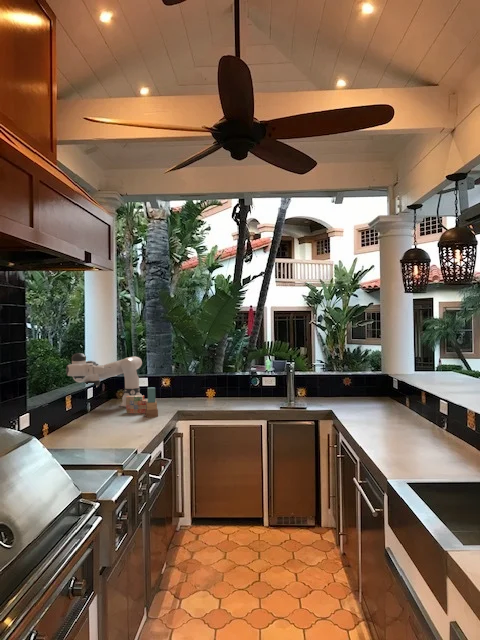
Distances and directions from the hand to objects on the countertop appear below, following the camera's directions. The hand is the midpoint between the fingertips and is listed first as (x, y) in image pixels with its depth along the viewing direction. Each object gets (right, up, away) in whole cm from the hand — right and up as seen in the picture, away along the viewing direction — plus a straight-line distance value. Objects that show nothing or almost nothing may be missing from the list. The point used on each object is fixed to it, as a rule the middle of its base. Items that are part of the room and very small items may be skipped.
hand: (110, 368), depth 344 cm
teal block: (+29, -24, -2) cm, 38 cm away
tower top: (+29, -29, -2) cm, 41 cm away
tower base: (+29, -34, -2) cm, 45 cm away
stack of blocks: (+19, -34, +13) cm, 41 cm away
